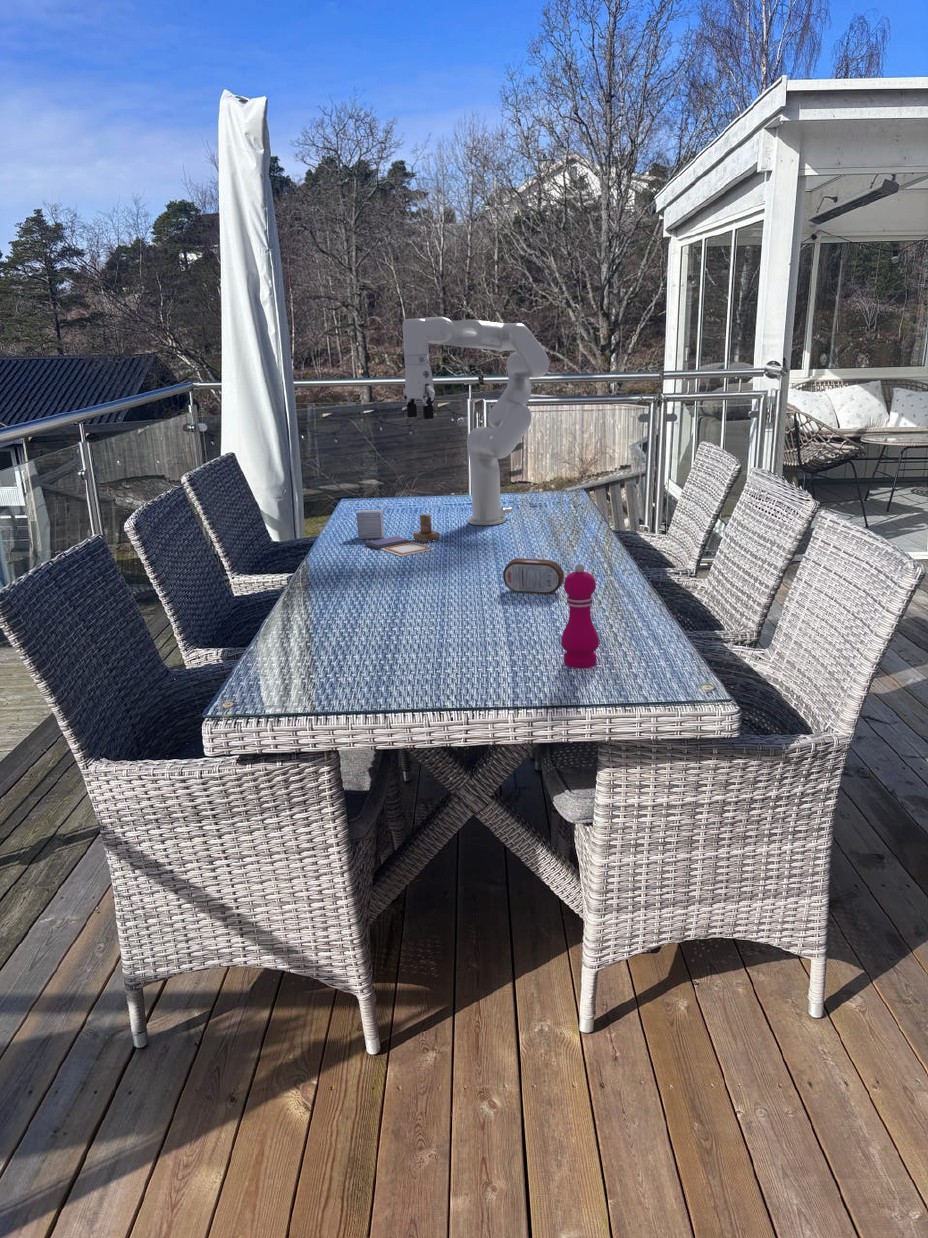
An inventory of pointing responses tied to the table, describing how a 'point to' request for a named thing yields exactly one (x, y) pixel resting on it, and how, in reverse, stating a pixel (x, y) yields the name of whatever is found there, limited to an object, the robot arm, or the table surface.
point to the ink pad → (387, 542)
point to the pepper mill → (580, 620)
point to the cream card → (407, 549)
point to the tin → (533, 576)
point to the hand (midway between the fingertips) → (420, 417)
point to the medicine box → (370, 524)
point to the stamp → (426, 530)
